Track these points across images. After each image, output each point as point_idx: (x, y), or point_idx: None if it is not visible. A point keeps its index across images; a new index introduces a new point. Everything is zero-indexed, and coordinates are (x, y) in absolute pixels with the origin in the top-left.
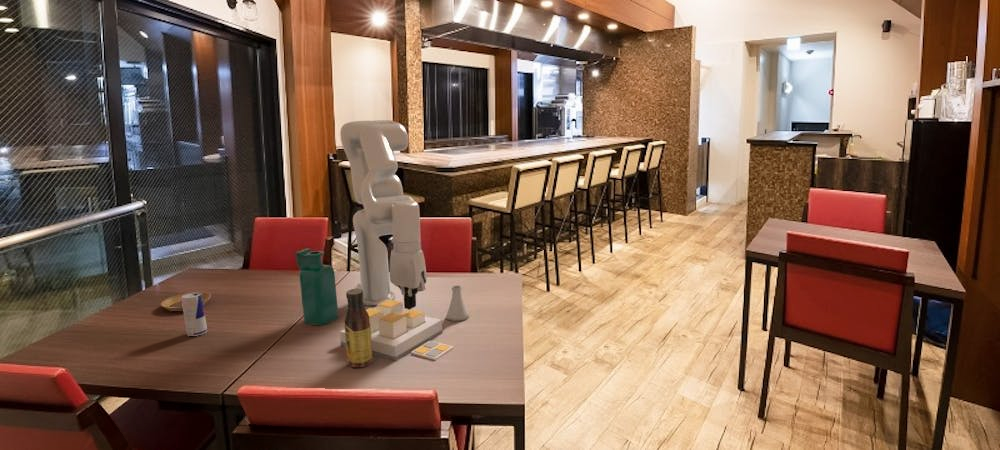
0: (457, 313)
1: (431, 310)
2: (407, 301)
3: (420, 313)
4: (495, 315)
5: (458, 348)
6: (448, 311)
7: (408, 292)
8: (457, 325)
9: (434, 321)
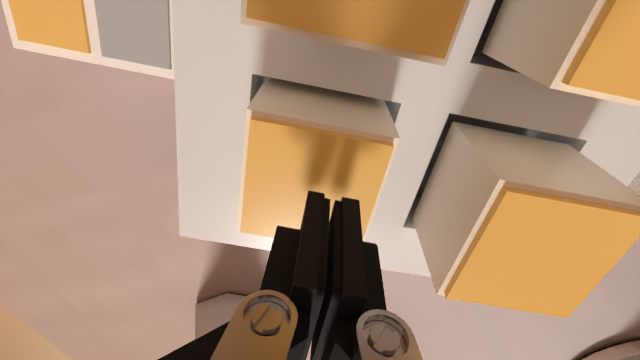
0: (211, 326)
1: None
2: (313, 240)
3: (242, 206)
4: (126, 352)
5: (4, 57)
6: None
7: (283, 343)
8: (193, 266)
9: (201, 210)
